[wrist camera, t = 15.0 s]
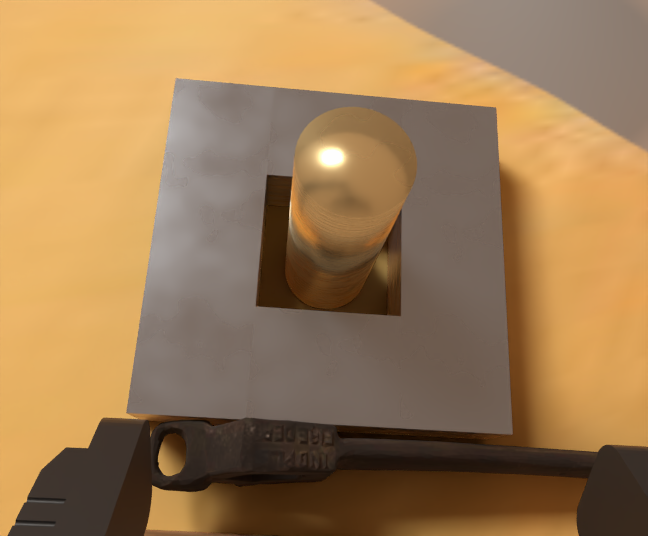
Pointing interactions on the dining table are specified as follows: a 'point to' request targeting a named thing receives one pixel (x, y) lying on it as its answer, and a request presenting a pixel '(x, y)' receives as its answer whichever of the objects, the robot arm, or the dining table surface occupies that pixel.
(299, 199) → the gold round-topped peg
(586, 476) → the wrench
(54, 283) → the dining table surface
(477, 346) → the block
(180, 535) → the brown recessed block
